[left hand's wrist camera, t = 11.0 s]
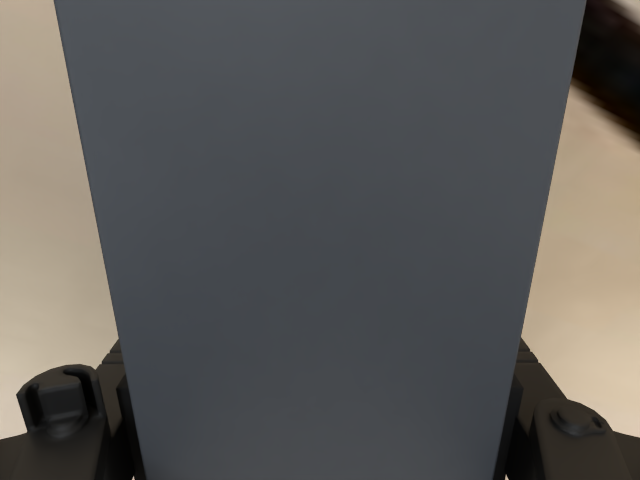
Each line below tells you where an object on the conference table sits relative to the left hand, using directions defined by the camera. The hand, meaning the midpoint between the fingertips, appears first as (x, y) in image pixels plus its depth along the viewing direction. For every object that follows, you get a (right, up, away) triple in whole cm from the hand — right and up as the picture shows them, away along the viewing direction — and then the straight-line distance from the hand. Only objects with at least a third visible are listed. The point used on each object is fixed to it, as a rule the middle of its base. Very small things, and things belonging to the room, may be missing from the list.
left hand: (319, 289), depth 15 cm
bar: (0, +33, -12) cm, 35 cm away
